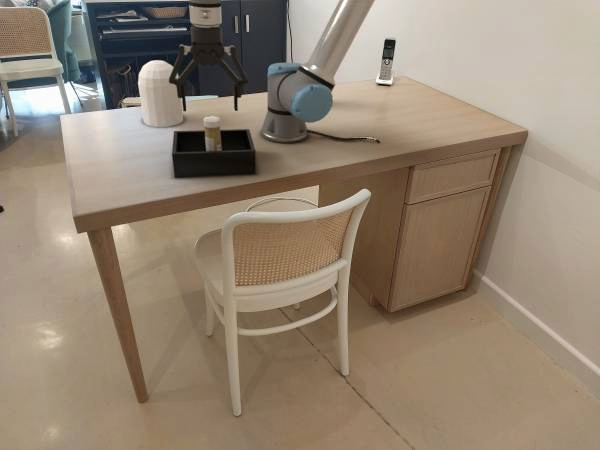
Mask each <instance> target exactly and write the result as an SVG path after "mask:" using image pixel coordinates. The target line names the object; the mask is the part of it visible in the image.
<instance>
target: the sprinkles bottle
mask: <svg viewBox="0 0 600 450" xmlns="http://www.w3.org/2000/svg"><path fill="white" fill-rule="evenodd" d="M221 123H222V122H221V118H220V117H219V116H215V115H214V116H213V115H210V116H206V117H204V118H203V127H204V130H205V141H206V151H222V149H221V136H220V130H221V125H222V124H221Z"/></svg>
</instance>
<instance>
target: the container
mask: <svg viewBox="0 0 600 450" xmlns="http://www.w3.org/2000/svg"><path fill="white" fill-rule="evenodd" d="M173 67H174V65H171V64H170V63H168V62H167V61H165V60H160V59H157V60H150V61H149V62H147V63H145V64H144V65H143V66H142V67H141V69H140V71H139V73H138V81H137V85H138V93H139V99H140V105H141V113H142V114H141V115H142V121H143V122H144V124H145V125H147V126H150V127H155V128H168V127H173V126H177V125H179V124H181V123H182V122H183V121H184V114H183V113H184V111H183V103H182V98H178V96H177V87H176V85H175V84H170V83H169V77H170V75H171V72H172V70H173ZM179 76H180V75H179V72H178V73H177V75H176V79H178V78H179Z"/></svg>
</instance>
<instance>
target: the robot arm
mask: <svg viewBox="0 0 600 450" xmlns="http://www.w3.org/2000/svg"><path fill="white" fill-rule="evenodd" d="M375 1H376V0H339V1H338V2H337V4H336V6H335V8H334V10H333V12H332V14H331V16H330V17H329V19H328V22H327V23H326V25H325V28H324V29H323V31H322V33H321V35H320V37H319V39H318V41H317V42H316V45H315V47H314V49H313V51H312V53H311V54H310V57H309V59H308V60H307V62H304V63H299V62H276V63H271V64H270V65H269V67H268V69H267V76H266V77H267V111H266V114H265V117H264V120H263V123H262V126H261V135H262V137H263V138H264V139H266V140H268V141H271V142H274V143H275V142H276V143H281V144H290V143H298V142H301V141H303V140H305V139H307V136H308V134H313V135H318V136H320V137H324V138H329V139H332V140H336V141H345V142H348V141H358V140H360V141H362V140H363V141H364V140H368V139H367V138H352V137H339V136H334V135H331V134H326V133H322V132H319V131H315V130H312V129H308V126H307V123H308V124H310V123H311V124H313V123H316V122H320V121H322V120H323V119H324V118H325V117H326V116H328V114H329V113H330V112H331V110H332V107H333V104H334V99H333V98H334V97H333V93H332V92H333V90H334V88H335V86H336V81H335V76H336V74H337V72H338V70H339V68H340V66H341V64H342V62H343V61H344V59H345V58H346V57H345V56H346V55H347V53H348V52H349V49H350V48H351V46H352V44H353V42H354V40H355V38H356V36H357V34H358V32H359V31H360V29H361V27H362V25H363V23H364V22H365V20H366V18H367V16H368V14H369V12H370V11H371V8H372V7H373V5H374V3H375ZM188 8H189V22H190V23H191V24H192V25H190V37H191V45H185V44H184V43H180V44H179V49H178V56H177V58H176V60H175V63H174V65H173V70H172V72H171V75H170V77H169V83H170V84H175V85H176V87H177V96H178V98H181V102H182V112H187V101H186V89H185V88H186V87H185V83H184V82H185V81H186V80H187V78H188V77H189V76H190V74H191V73H192V72H193V71H194V69H195V68H196V67H197V66H198V65H199V64H200V65H202V66H206V65H210V66H215V65H216V64H218V65H219V66H220V68H222V70H223V71H224V72H225V73H226V74H227V75H228V76H229V77H230V79H231V80H232V81H233V82H234V83H233V109H234V112H238V111H239V109H238V108H239V107H238V105H239V103H238V99H241V98H242V89H243V88H242V87H243V85H247V84H249V79H248V77H247V74H246V73H245V71H244V68H243V67H242V64H241V63H240V61H239V58H238V57H237V54H236V48H235V45H233V44H231V45H229V46H224V45H223V28H222V26H221V24H222V23H223V20H222V0H188ZM189 52H190V53H191V55H193V58H192V59H191V60H190V62H189V63H188V65H187V66H186V67H185V68H184V70H183V71H182V73H181V74H180V75H178V76H179V78H178V79H176V75H177V73H178V74H179V70H180V68H181V65H182V63H183V60H184V58H185V56H187V55H188V54H189ZM225 53H227V55H228V56H229V57H231V60H232V62H233V64H234V66H235V68H236V70H237V72H238V74H239V75H240V78H239V77H238V76H237V74H236V72H234V71H233V70H232V69H231V67H230V66H229V65H228V64H227V63H226V62H225V60H224V59H223V58H222V57H223V56H224V54H225ZM372 137H373V138H374V136H372ZM371 140H372V141H375V142H376V143H377V144H381V141H380V140H379V139H378V140H374V139H371Z"/></svg>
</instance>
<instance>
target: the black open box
mask: <svg viewBox="0 0 600 450" xmlns="http://www.w3.org/2000/svg"><path fill="white" fill-rule="evenodd" d="M220 136H221V149H222V151H206V141H205V129H203V130H202V129H201V130H200V129H199V130H173V137H172V150H171V158H172V166H173V167H172V168H173V174H174V175H173V176H174V178H175V179H176V178H195V177H197V178H199V177H219V176H240V175H256V170H257V169H256V163H257V161H256V148H255V145H254V140H253V137H252V133H251V130H250V128H241V129H239V128H237V129H234V128H233V129H220Z"/></svg>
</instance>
